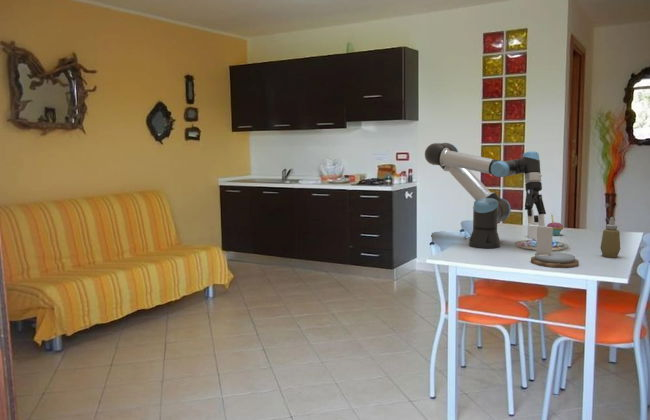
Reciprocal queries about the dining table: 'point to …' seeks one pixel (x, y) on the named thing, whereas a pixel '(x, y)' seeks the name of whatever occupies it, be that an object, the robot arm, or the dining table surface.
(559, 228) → the cupcake
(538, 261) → the base
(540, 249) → the dial
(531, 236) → the medicine bottle
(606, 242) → the squeeze bottle
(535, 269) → the dining table surface
